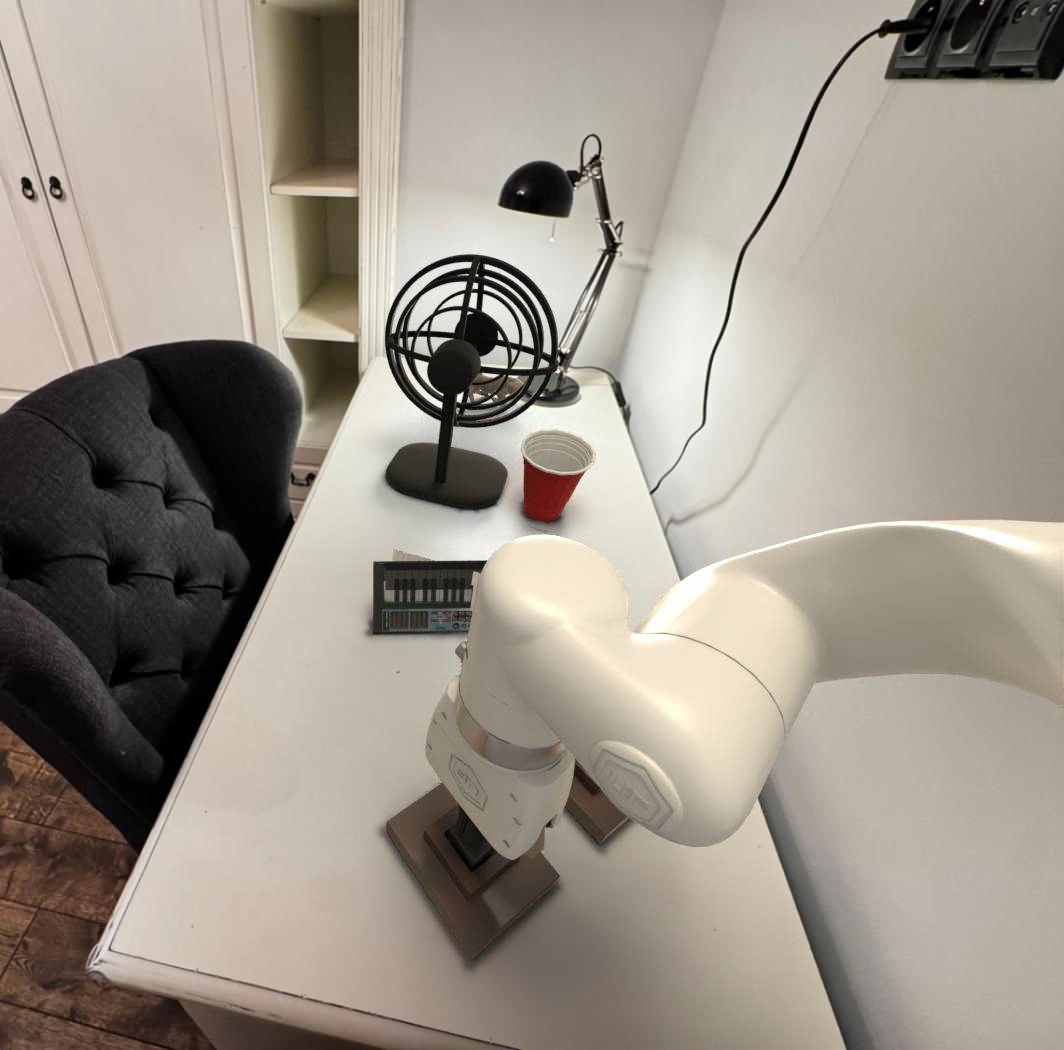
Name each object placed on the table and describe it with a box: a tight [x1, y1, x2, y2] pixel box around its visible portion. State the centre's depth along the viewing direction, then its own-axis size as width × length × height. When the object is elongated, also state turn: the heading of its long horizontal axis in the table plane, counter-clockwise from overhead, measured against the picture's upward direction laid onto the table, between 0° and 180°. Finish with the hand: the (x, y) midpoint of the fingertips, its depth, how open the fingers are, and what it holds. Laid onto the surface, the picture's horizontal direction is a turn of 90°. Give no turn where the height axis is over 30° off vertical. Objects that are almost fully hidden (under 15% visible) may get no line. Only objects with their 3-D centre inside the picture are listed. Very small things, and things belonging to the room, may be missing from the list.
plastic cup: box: [520, 428, 597, 522], centre depth 87 cm, size 11×11×12 cm
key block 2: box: [564, 759, 630, 845], centre depth 58 cm, size 12×10×4 cm
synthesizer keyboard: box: [372, 548, 488, 633], centre depth 71 cm, size 22×10×10 cm
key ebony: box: [448, 822, 495, 869], centre depth 49 cm, size 3×3×2 cm
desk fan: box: [384, 253, 560, 509], centre depth 88 cm, size 27×18×35 cm, turn 67°
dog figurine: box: [468, 373, 527, 408], centre depth 117 cm, size 12×6×7 cm, turn 74°
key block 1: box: [385, 782, 561, 961], centre depth 51 cm, size 12×10×4 cm
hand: (475, 826), depth 48 cm, fingers closed
